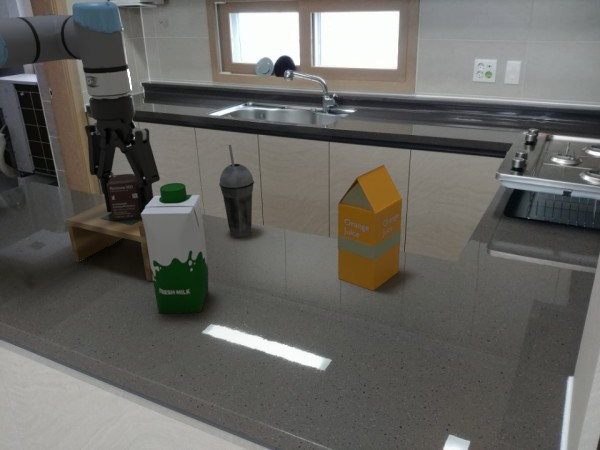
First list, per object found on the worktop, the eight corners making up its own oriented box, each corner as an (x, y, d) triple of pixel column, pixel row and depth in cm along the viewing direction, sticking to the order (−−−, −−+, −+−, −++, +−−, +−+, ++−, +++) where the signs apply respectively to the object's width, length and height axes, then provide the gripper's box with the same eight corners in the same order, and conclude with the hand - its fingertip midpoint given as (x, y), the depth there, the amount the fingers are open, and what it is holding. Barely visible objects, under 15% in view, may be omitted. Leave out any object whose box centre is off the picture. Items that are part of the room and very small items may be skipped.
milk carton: (214, 288, 95) (202, 181, 88) (204, 316, 87) (191, 201, 79) (165, 288, 96) (149, 182, 88) (151, 316, 88) (132, 202, 80)
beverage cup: (263, 229, 118) (258, 141, 110) (244, 242, 113) (237, 150, 105) (237, 224, 122) (230, 137, 114) (217, 236, 116) (208, 146, 108)
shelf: (75, 260, 107) (63, 209, 103) (126, 234, 118) (117, 187, 114) (151, 281, 98) (142, 226, 94) (198, 250, 110) (192, 200, 105)
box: (112, 221, 102) (105, 184, 99) (116, 209, 107) (110, 174, 104) (145, 218, 102) (139, 182, 99) (148, 207, 108) (142, 172, 105)
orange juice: (399, 271, 99) (404, 167, 91) (373, 291, 93) (376, 181, 85) (363, 260, 104) (365, 160, 96) (337, 278, 98) (336, 173, 90)
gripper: (52, 95, 97) (77, 211, 106) (140, 102, 88) (158, 229, 97) (85, 88, 103) (105, 199, 112) (170, 95, 94) (185, 214, 103)
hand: (130, 213), depth 105 cm, fingers closed on box, 8 cm apart
